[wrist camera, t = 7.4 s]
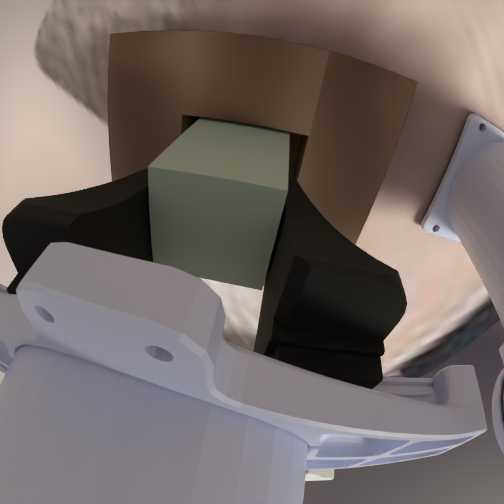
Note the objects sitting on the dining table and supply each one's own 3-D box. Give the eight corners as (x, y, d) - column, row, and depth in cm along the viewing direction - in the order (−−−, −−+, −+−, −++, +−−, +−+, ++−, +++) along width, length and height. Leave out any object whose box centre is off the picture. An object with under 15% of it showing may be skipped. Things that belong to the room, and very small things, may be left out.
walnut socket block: (389, 72, 11) (416, 82, 8) (325, 257, 19) (328, 298, 16) (147, 32, 11) (110, 34, 8) (145, 221, 19) (122, 256, 16)
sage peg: (289, 126, 12) (287, 190, 7) (273, 197, 14) (261, 290, 9) (206, 112, 12) (148, 166, 7) (200, 183, 14) (153, 267, 9)
